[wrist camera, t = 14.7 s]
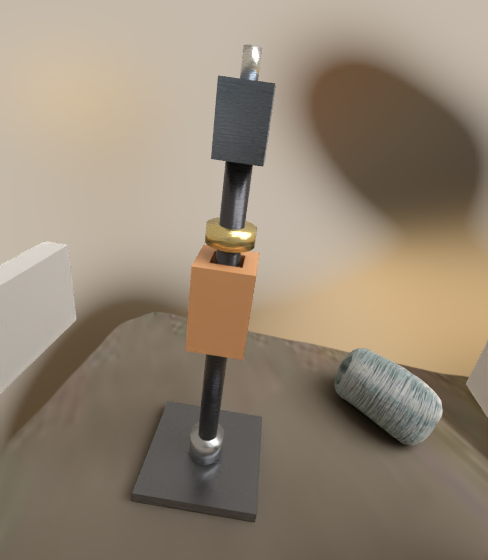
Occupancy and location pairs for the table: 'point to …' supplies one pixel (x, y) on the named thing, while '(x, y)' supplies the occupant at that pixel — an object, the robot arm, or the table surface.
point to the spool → (389, 396)
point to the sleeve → (220, 304)
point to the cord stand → (209, 418)
